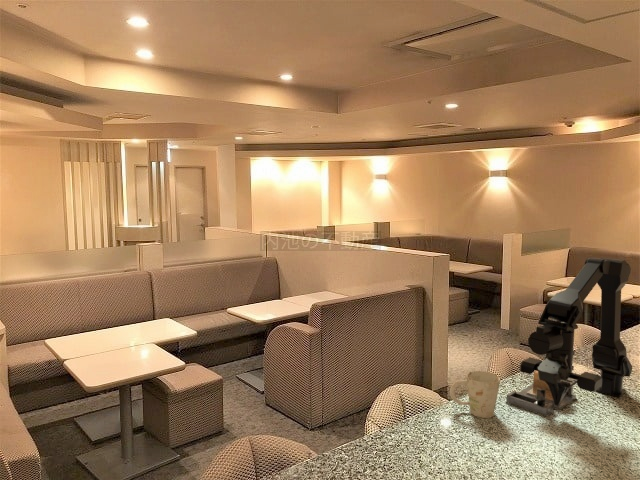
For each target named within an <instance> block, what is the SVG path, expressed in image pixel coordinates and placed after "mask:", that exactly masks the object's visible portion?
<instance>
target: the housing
mask: <svg viewBox="0 0 640 480" xmlns="http://www.w3.org/2000/svg"><path fill="white" fill-rule="evenodd" d="M532 379H533V380H532V384H533V393H536V394H537V388H544V389H545V390H546V395H545V396H546V397H549V398H552V399H553V397H552V394H551V391H550V388H549V386H548V384H547V383H546V382H545V381H542V380H540V379H539V376H538V371H536V370H534V372H533V378H532ZM560 381H561V380H560Z"/></svg>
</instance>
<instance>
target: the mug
mask: <svg viewBox="0 0 640 480" xmlns="http://www.w3.org/2000/svg"><path fill="white" fill-rule="evenodd" d="M500 383H501V378H500V376H499V375H497V374H496V373H493V372H489V371H483V370H474V371H473V370H472V371H469V372H468V373H467V374H466V380H455V381H454V383H452V385H451V386H450V389H449V396H450V398H451V399H452V400H453V402H455V403H457V405H460V406H461V405H463V406H469V412H470V414H471V415H473V416H475V417H477V418H483V419H488V418H492V417H493V416H494V415H495V410H496V405H497V399H498V395H499V389H500ZM459 386H467V392H468V393H467V394H468V395H467V396H468V401H462V400H460V399H458V398H457V396H456V393H455V391H456V389H457V388H458V387H459Z"/></svg>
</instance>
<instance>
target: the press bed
mask: <svg viewBox="0 0 640 480" xmlns="http://www.w3.org/2000/svg"><path fill="white" fill-rule="evenodd" d="M573 391H574V385H573V386H572V387H570V388H569V389H568V390H567V392H566V394H565V396H564V398H563V400H562V401H561V403H560V405H559V406H557V405H555V403H554V400H553V399H552V398H549V397H546V396H545V402H548V403H553V409H555V410H559V411H561V410H562V409H563V408H565V407H566V406H568V405H569V404H571V402H573V401H574V400H575V399H577V395H575V394H573ZM518 393H520V394H523V395H526V396H529V397H532V398H535V399H536V393H533V383H532V384H530V385H529V386H527V387H525V388H524V389H522V390H520V391H519V392H518Z"/></svg>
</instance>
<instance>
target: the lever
mask: <svg viewBox="0 0 640 480" xmlns="http://www.w3.org/2000/svg"><path fill="white" fill-rule="evenodd" d="M545 395H546V390H545V389H544V388H537V394H536V402H535V403H534V404H537V405H540V406H543V407H544V406H546V405H547V404H545Z"/></svg>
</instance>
